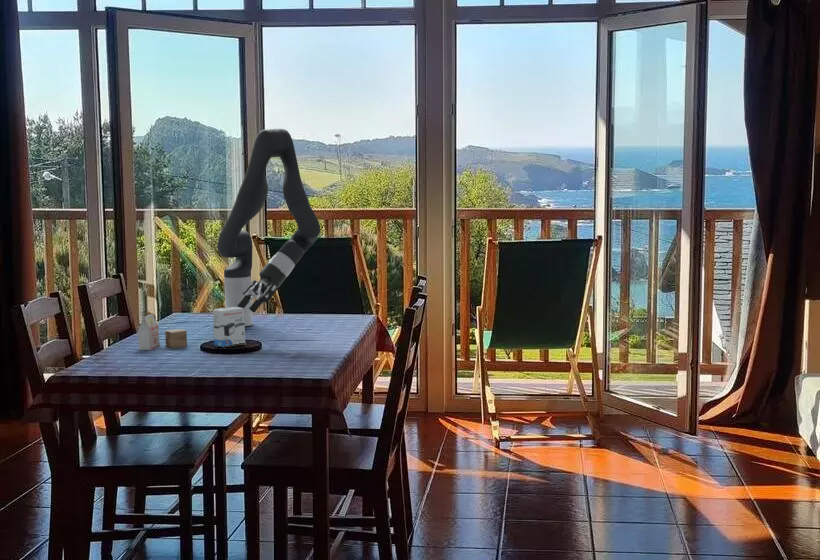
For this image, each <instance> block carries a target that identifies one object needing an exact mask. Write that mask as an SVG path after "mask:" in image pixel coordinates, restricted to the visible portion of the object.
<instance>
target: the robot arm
mask: <svg viewBox="0 0 820 560" xmlns="http://www.w3.org/2000/svg"><path fill="white" fill-rule="evenodd" d="M295 149H296V148H295V144H294V142H293V138H292V136H291V134H290V132H289V131H288V130H287V129H285V128H267V129H262V130H260V131H259V132H258V133H257V134H256V137H255V140H254V143H253V147H252V151H251V155H250V158H249V163H248V166H247V169H246V171H245V174H244V178H243V180H242V183H241V185H240V187H239V189H238V193H237V195H236V198H235V201H234V204H233V207H232V209H231V211H230V213H229V216H228V219H227V220H226V223H225V224H224V226H223V228H222V230H221V232H220V234H219V236H218V240H217V251H218V254H219V256H221V257H222V258H227V259H229V258H235V260H234V262H233V263H232V264H231V265H229V266H227V267H226V268H224V270H223V277H224V278H223V279H224V280H223V281H224V285H223V286H224V301H225V302H224V303H225V305H224V308H228V307H240V308H244V321H245V327H250V326H253V313H256V312H257V310H258V309H259V308H260V307H261V305H263V304H264V303H268V302H269V301H270V300H271V299H272V297H273V296H274V295H275V293H276V292H277V290H278V289H279V288H280V286H281V285H282V284H283V282H284V281H285V280H286V279H287V277H288V276H289V275H290V274H291V272H292V271H293V269H294V268H295V266H296V265H297V264H298V263H299V262H300V260H301V259H302V257H303V256H304V254H305V253H306V252H308V250H309V249H310V248H311V247H312V246H313V245H314V243H316V241H317V239H318V238H319V236H320V233H321V231H322V229H321V225H320V222H319V219H318V217H317V215H316V213H315V212H314V210H313V208H312V207H311V204H310V200H309V199H308V196H307V192H306V191H305V188H304V185H303V181H302V178H301V173H300V168H299V163H298V159H297V154H296V150H295ZM272 158H273V159H274V158H280V160H281V163H282V165H283V170H284V176H283V183H282V194H283V198H284V201H285V204H286V206H287V209H288V211H289V213H290V215H291V216H292V217H294V220H295V223H296V225H297V229H296V230H295V232H294V233H293V234H292V236H291V237H290V238H289V239H288V240H286V241H285V242H284V244H283V245H282V246H281V247H280V249H278V251H277V252H276V253H275V254H273V256H272V257H271V258H270V259H269V260H268V262H267V263H265V265H264V267H263V268H262V269H261V270H260V272H259V274H258V275H259V277H260V279H259V280H258V281H257V280H255V279H253V280H252V276H251V275H252V268H253V239H252V236H251V234H250V233H249V232H248V231H247V230H243V229H244V228H245V226H246V225H247V224H248V223H249V222H250V221H251V220H252V219H254V218H255V216H257V215H258V214H259V212H260V211H261V210H262V209H263V207H264V205H265V202H266V200H267V196H268V193H269V185H268V180H267V177H266V169H267V166H268V164H269V161H270V159H272ZM253 299H254V301H253Z"/></svg>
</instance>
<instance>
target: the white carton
mask: <svg viewBox="0 0 820 560" xmlns="http://www.w3.org/2000/svg"><path fill="white" fill-rule="evenodd" d="M137 336H138V337H137V338H138V350H140V351H142V350H143V351H151V350H153V349H155V348H158V347H160V345H161V344H160V327H159V325H158V323H157V320H156V318H155V316H154V313H152V314H149V315H146V316H143V317H142V320H141V323H140V324H139V328H138V330H137Z"/></svg>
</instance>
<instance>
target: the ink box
mask: <svg viewBox="0 0 820 560" xmlns="http://www.w3.org/2000/svg"><path fill="white" fill-rule="evenodd" d="M212 316H213V317H212V318H213V342H214V343H213V344H214V345H218V346H222V347H224V346H229V345H234V344H239V343H245V344H246V332H245V331H246V330H245V327H246V326H245V321H244V308H240V307H228V308H225V307H222V308H214V309H213V310H212Z"/></svg>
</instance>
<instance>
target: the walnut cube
mask: <svg viewBox="0 0 820 560" xmlns="http://www.w3.org/2000/svg"><path fill="white" fill-rule="evenodd" d="M164 335H165V347H167V348H170V349H177V348H186V347H188V336H187V335H188V334H187V330H186V329H182V328H177V329H167V330H165V331H164Z"/></svg>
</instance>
